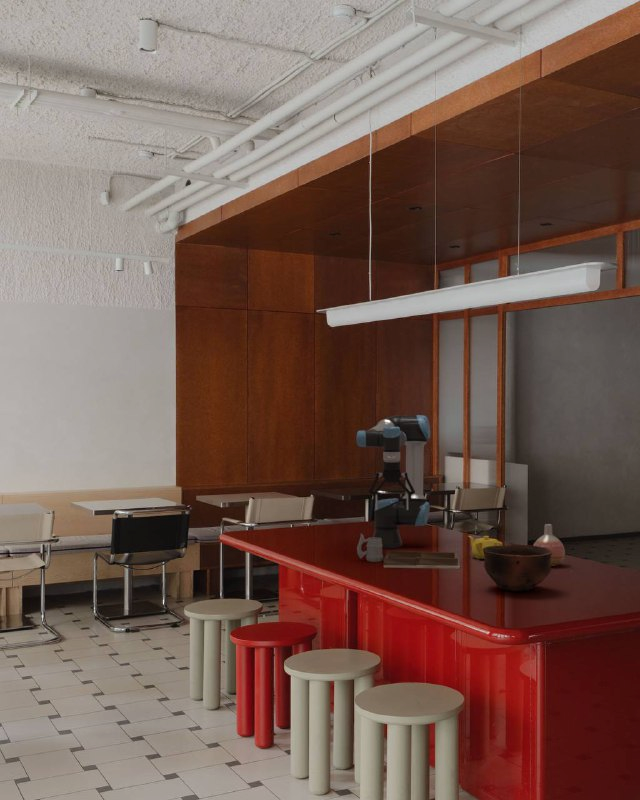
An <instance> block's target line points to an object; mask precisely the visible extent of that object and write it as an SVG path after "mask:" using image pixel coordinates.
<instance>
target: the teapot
mask: <svg viewBox="0 0 640 800" xmlns="http://www.w3.org/2000/svg"><path fill="white" fill-rule="evenodd" d="M482 536H483V537H481V538H480V537H479V538H475V539H474V537H473V536H471V535H467V537H468V538H469V539H470V548H471V554H472V557H473V558H475V559H476V560H482V559H483V560H485V557H484V552H483V548H485V547H489V546H502V545H503V542H501V541H499V540H498V539H495V538H489V537H490V536H489V535H482Z"/></svg>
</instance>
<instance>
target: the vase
mask: <svg viewBox="0 0 640 800" xmlns="http://www.w3.org/2000/svg"><path fill="white" fill-rule="evenodd" d="M543 532H544V533H543V535H541V536H540V537H539V538H538V539H537V540H536V541H535V542H534V543H533V545H532V546H538V547H543V548H546V549H549V550H551V551H552V554H551V559H550V565H557V566H558V565H559V564H560V563H562V562H563V560H564V559H565V557H566V556H565V554H566V550H565V547H564V544H563V542H562V541H561V540H560V539H559V538H557V537H556V536H555V535H554V534H553V525H552V524H551V523H545V524H544V531H543Z"/></svg>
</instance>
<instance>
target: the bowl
mask: <svg viewBox="0 0 640 800" xmlns="http://www.w3.org/2000/svg"><path fill="white" fill-rule="evenodd" d="M483 552H484V557H485V559H484V565H483V566H484V569H485V572H486V573H487V575H488V576H489V578H491V579H492V581H493V582H494V583H495V585H497V587H498V588H499V589H500V590H503V591H512V592H524V591H525V592H526V591H530V590H532V589H533V588H535V587H536V586H537V585H539V584H541V583H542V582H544V580H545V579H546V578H547V577H548V576H549V575H550V573H551V571H552V567H551V565H550V559H551V554H552V551H551V550H549V549H546V548H543V547H538V546H533V545H531V544H530V545H529V544H506V545H505V544H504V545H503V544H502V546H489V547H485V548H483Z"/></svg>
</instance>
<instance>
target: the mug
mask: <svg viewBox="0 0 640 800" xmlns="http://www.w3.org/2000/svg"><path fill="white" fill-rule="evenodd" d="M364 543H366V545H365V546H366V550H365V551H363V550H362V546H363V544H364ZM382 546H383V545H382V539H381V538H378V537H373V536H372V537H368V538H367V539H366V538H365V537H364V535H363V533H360V538H359V542H358V544H357V547H356V551H357V552H356V553H357V556H358V557H359V559H363V557H365V559H366V561H367V562H370V563H371V562H373V563H374V562H382V561H383V559H384V555H383V548H382Z"/></svg>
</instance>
